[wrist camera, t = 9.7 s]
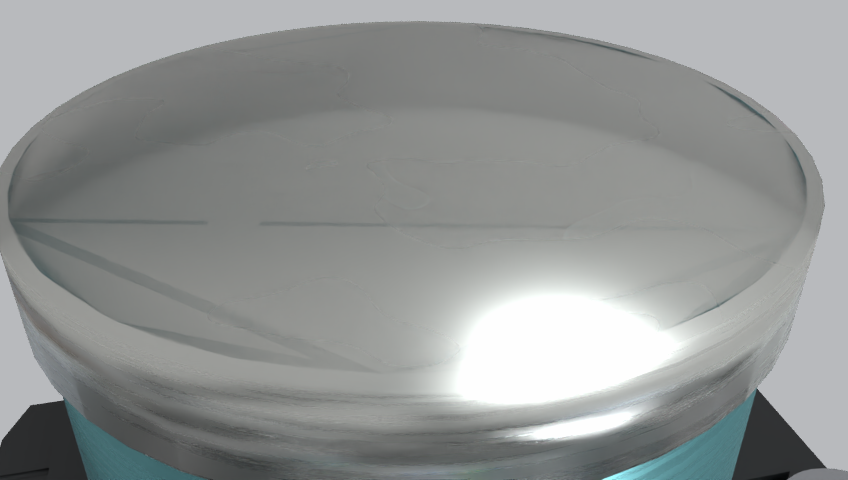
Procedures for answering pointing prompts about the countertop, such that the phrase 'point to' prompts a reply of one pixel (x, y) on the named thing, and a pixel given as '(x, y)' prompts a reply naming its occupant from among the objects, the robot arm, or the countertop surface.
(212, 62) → the tea tin
